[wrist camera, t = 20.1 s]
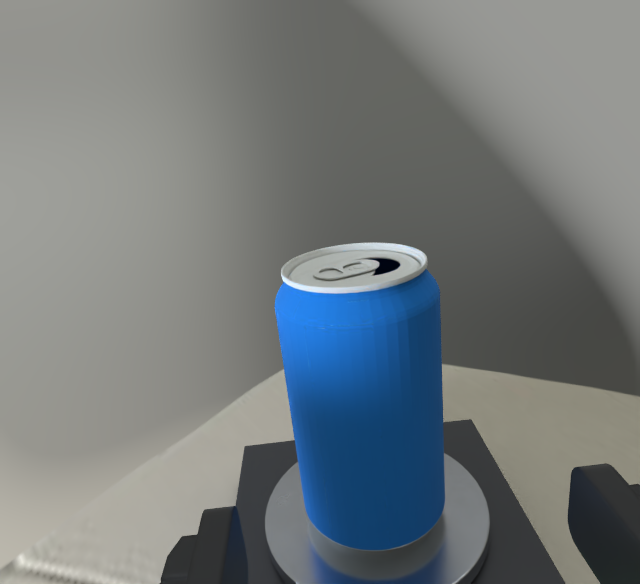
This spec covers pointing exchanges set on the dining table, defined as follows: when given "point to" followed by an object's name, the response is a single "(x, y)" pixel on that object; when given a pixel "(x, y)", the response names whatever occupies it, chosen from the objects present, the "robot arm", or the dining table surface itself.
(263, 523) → the scale
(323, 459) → the beverage can
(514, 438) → the dining table surface
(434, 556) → the scale pan
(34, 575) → the dining table surface
